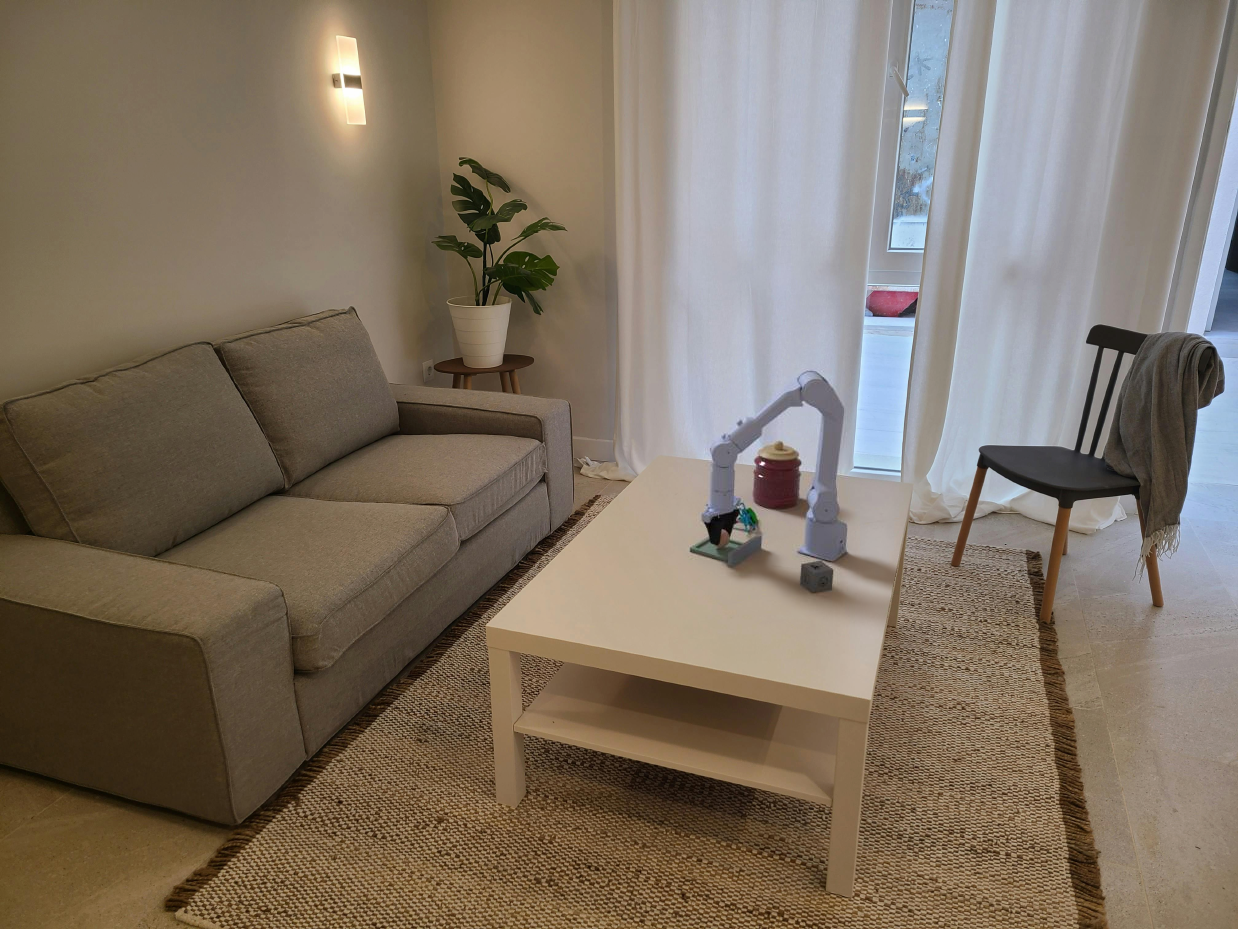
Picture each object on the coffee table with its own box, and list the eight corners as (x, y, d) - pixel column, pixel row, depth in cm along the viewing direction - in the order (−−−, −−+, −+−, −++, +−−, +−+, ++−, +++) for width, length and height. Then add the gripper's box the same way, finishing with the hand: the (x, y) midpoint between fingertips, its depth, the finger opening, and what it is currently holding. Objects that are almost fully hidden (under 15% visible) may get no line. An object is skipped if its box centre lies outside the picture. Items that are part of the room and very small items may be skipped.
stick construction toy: (752, 529, 217) (738, 501, 218) (729, 541, 219) (715, 513, 221) (766, 526, 228) (752, 499, 229) (743, 537, 230) (730, 511, 232)
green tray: (749, 548, 211) (750, 544, 211) (727, 562, 203) (727, 558, 203) (713, 537, 217) (713, 534, 217) (689, 551, 209) (689, 547, 209)
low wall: (761, 548, 211) (761, 535, 210) (731, 567, 201) (731, 553, 199) (757, 547, 212) (758, 534, 210) (727, 566, 201) (728, 552, 200)
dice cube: (800, 584, 192) (801, 564, 191) (819, 580, 194) (820, 560, 192) (812, 594, 188) (813, 573, 186) (831, 590, 190) (833, 569, 188)
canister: (748, 506, 238) (751, 445, 232) (755, 491, 249) (758, 432, 244) (796, 511, 234) (800, 449, 228) (801, 495, 246) (805, 436, 240)
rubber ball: (732, 546, 210) (733, 529, 209) (723, 552, 207) (723, 535, 206) (717, 541, 213) (717, 524, 212) (707, 547, 210) (707, 530, 208)
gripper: (723, 476, 213) (722, 527, 217) (691, 493, 202) (690, 546, 206) (748, 482, 209) (746, 534, 213) (716, 499, 198) (714, 553, 202)
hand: (720, 540), depth 209 cm, fingers closed on rubber ball, 4 cm apart
